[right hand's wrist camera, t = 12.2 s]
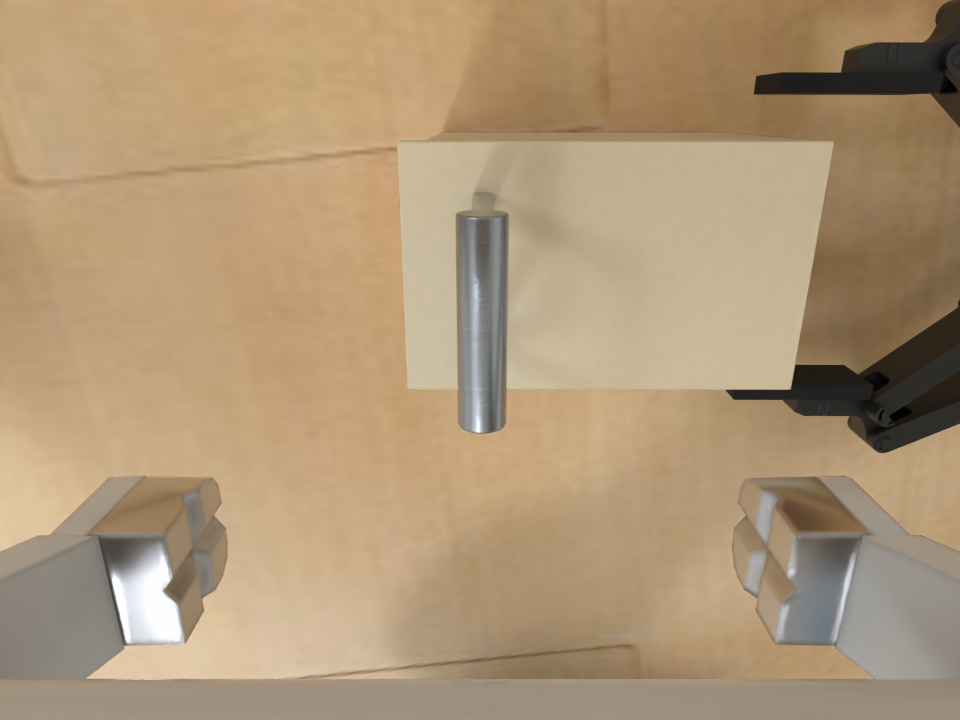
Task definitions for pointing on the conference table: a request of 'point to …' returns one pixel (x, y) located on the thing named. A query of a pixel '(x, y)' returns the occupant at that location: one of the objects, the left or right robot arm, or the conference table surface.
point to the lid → (605, 264)
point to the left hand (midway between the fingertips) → (743, 244)
